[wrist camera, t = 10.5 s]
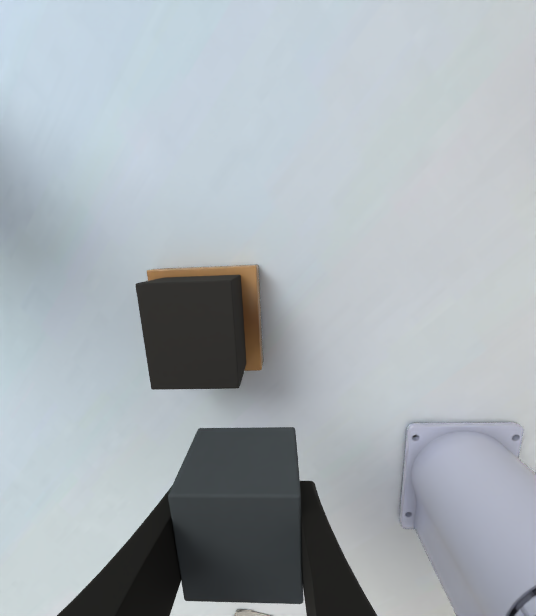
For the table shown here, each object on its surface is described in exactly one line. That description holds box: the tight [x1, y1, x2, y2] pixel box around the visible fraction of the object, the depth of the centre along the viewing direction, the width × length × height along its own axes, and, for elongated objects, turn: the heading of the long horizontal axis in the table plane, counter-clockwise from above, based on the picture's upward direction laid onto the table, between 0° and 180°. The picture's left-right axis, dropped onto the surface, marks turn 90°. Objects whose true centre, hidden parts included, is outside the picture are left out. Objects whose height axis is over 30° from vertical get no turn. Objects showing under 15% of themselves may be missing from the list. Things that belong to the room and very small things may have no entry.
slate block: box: [168, 427, 303, 604], centre depth 10 cm, size 5×4×3 cm
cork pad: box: [147, 265, 263, 371], centre depth 18 cm, size 7×7×2 cm
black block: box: [136, 275, 246, 389], centre depth 15 cm, size 6×5×3 cm
